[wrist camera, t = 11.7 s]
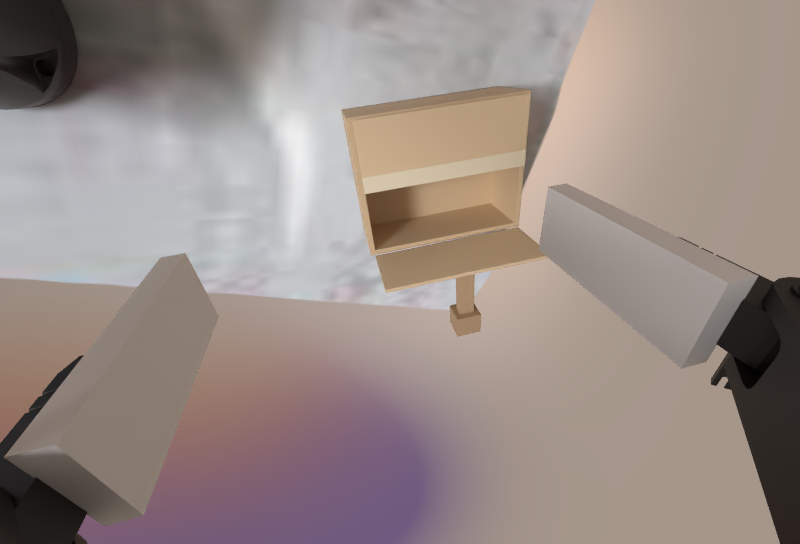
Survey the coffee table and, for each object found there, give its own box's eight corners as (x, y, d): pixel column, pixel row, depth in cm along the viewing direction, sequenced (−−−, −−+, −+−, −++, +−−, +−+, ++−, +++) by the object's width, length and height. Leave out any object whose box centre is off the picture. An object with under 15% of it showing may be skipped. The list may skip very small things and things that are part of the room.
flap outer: (375, 255, 41) (385, 313, 46) (385, 289, 35) (395, 352, 40) (517, 227, 43) (512, 285, 49) (550, 254, 37) (539, 318, 42)
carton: (364, 229, 48) (372, 259, 41) (341, 109, 40) (346, 119, 32) (492, 205, 51) (522, 228, 43) (497, 86, 42) (536, 90, 34)
